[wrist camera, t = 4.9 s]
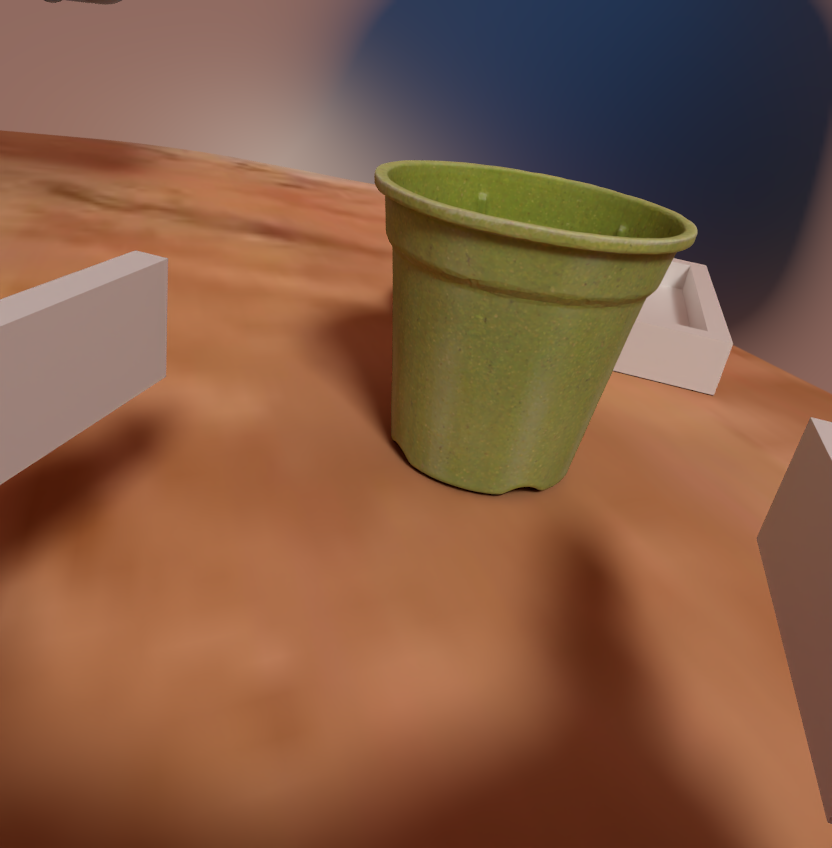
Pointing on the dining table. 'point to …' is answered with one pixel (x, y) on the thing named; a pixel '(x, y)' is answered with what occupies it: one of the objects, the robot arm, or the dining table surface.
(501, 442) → the plant pot
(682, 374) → the pot tray
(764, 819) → the dining table surface
